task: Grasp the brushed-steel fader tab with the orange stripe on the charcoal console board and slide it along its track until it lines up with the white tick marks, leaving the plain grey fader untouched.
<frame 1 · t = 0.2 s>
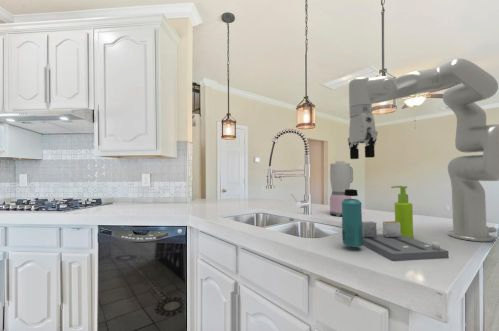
hand: (361, 158, 87), 31 cm above the countertop, fingers open, 9 cm apart
fader tab: (391, 228, 85), point 5 cm above the countertop, slide at -6.0 cm
blender: (343, 215, 140), on the countertop
soap dispenser: (402, 236, 93), on the countertop
beverage bottle: (352, 249, 79), on the countertop
fader tab 2: (367, 229, 86), point 5 cm above the countertop, slide at 0.0 cm
console: (396, 248, 79), on the countertop
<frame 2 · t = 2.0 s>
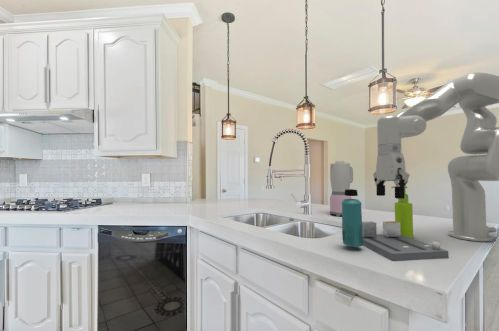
hand: (389, 196, 86), 17 cm above the countertop, fingers open, 9 cm apart
nothing on the countertop moved.
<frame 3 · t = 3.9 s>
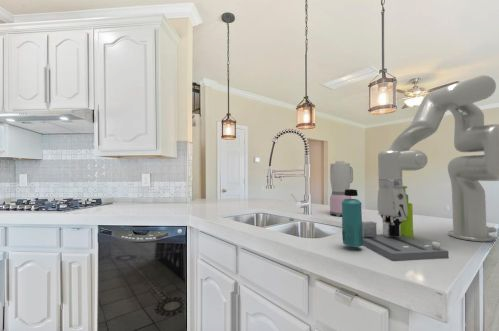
hand: (391, 234, 85), 3 cm above the countertop, fingers closed on fader tab, 2 cm apart
fader tab: (391, 228, 85), point 5 cm above the countertop, slide at -6.0 cm, touching gripper
everything else where it was.
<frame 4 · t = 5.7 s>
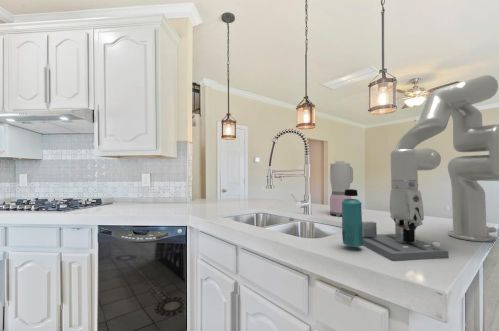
hand: (405, 239, 79), 3 cm above the countertop, fingers closed on fader tab, 2 cm apart
fader tab: (405, 233, 79), point 5 cm above the countertop, slide at 0.7 cm, touching gripper
everything else where it was.
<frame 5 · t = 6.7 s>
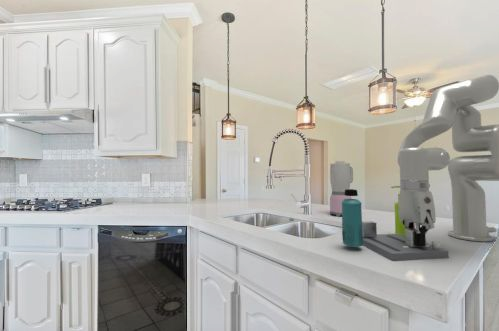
hand: (415, 243, 75), 3 cm above the countertop, fingers closed on fader tab, 2 cm apart
fader tab: (415, 236, 75), point 5 cm above the countertop, slide at 4.8 cm, touching gripper
everything else where it was.
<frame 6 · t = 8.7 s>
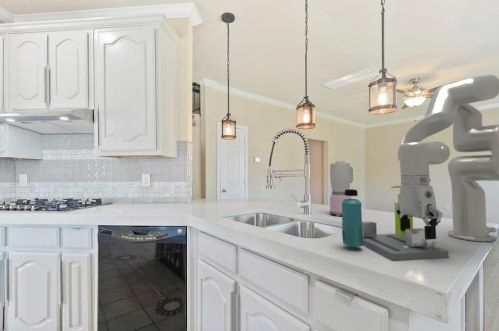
hand: (417, 234, 75), 6 cm above the countertop, fingers open, 9 cm apart
fader tab: (416, 237, 75), point 5 cm above the countertop, slide at 5.0 cm
everything else where it was.
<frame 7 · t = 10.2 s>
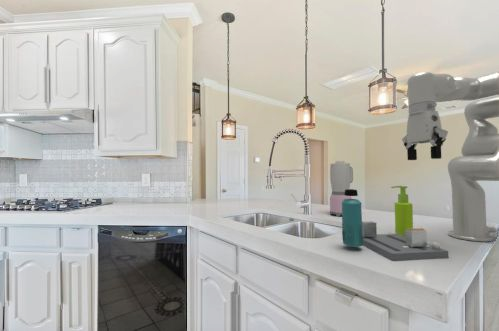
hand: (423, 159, 81), 30 cm above the countertop, fingers open, 9 cm apart
nothing on the countertop moved.
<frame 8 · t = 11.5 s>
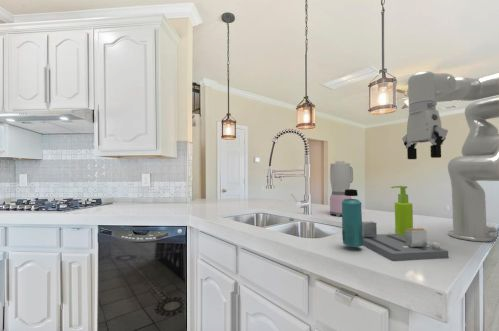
hand: (423, 158, 81), 30 cm above the countertop, fingers open, 9 cm apart
nothing on the countertop moved.
at the end: fader tab slide at 5.0 cm; the gripper is holding nothing; fader tab 2 slide at 0.0 cm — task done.
